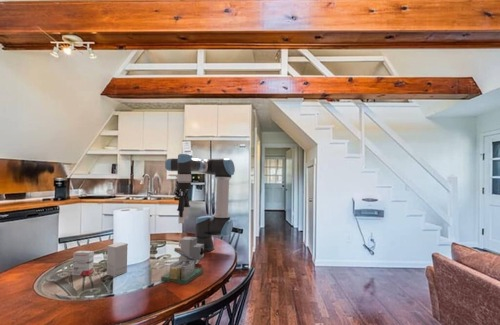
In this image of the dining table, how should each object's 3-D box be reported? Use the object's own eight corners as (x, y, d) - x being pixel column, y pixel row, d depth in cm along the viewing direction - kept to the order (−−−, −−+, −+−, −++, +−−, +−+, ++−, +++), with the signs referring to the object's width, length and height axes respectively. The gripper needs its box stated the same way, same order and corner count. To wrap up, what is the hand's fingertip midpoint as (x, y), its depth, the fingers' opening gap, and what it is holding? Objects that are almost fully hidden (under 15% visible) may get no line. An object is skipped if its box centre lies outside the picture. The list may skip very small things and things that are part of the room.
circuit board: (180, 269, 161) (181, 256, 161) (203, 272, 156) (203, 259, 157) (161, 280, 144) (161, 266, 144) (185, 284, 139) (185, 269, 140)
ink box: (93, 272, 154) (94, 250, 155) (88, 275, 149) (89, 252, 150) (77, 272, 154) (78, 250, 155) (72, 275, 149) (72, 252, 150)
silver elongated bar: (187, 259, 158) (188, 256, 159) (193, 260, 157) (194, 257, 158) (173, 251, 145) (174, 247, 146) (179, 252, 144) (181, 248, 145)
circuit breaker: (201, 266, 166) (202, 240, 166) (178, 264, 169) (179, 239, 169) (206, 262, 173) (206, 237, 174) (184, 261, 176) (184, 236, 177)
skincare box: (119, 270, 158) (120, 241, 159) (127, 272, 155) (128, 243, 156) (105, 275, 151) (106, 245, 151) (114, 277, 148) (115, 246, 148)
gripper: (181, 181, 170) (181, 217, 169) (172, 183, 145) (171, 225, 144) (194, 181, 170) (193, 217, 169) (187, 183, 145) (186, 225, 145)
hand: (183, 220), depth 157 cm, fingers open, 13 cm apart
